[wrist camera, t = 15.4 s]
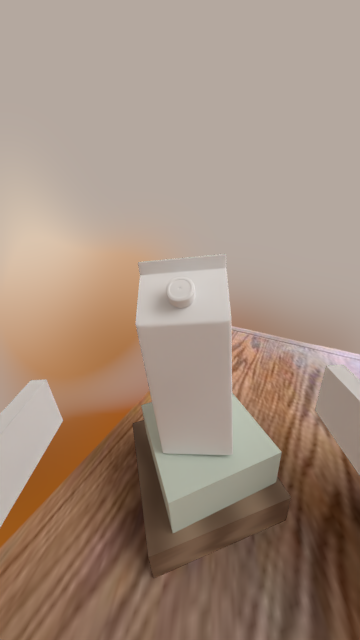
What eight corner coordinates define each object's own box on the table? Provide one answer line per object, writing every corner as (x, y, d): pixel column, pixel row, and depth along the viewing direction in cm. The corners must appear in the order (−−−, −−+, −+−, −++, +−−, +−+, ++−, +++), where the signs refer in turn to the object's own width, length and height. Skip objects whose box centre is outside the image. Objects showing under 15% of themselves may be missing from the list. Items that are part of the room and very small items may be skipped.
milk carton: (171, 402, 29) (147, 255, 22) (226, 402, 29) (222, 247, 21) (162, 454, 23) (123, 272, 15) (233, 456, 22) (230, 263, 14)
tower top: (221, 405, 35) (221, 380, 33) (276, 482, 25) (281, 452, 23) (146, 431, 32) (141, 405, 29) (172, 533, 21) (168, 503, 19)
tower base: (224, 420, 38) (225, 398, 36) (284, 523, 25) (291, 497, 23) (137, 446, 35) (132, 423, 33) (154, 581, 22) (148, 557, 20)
